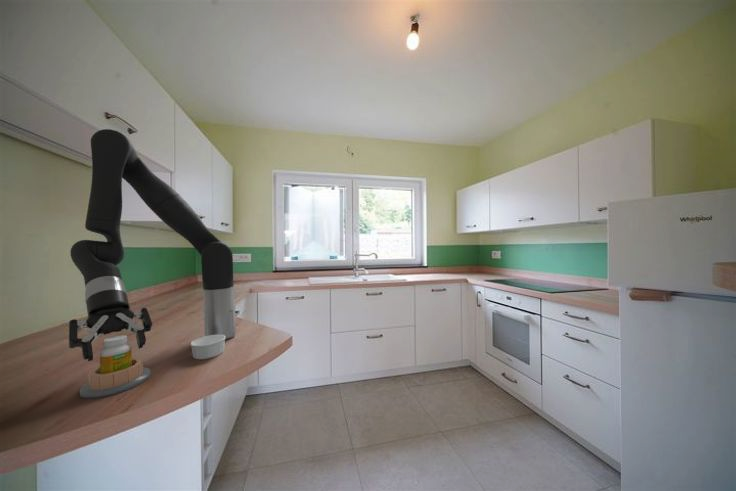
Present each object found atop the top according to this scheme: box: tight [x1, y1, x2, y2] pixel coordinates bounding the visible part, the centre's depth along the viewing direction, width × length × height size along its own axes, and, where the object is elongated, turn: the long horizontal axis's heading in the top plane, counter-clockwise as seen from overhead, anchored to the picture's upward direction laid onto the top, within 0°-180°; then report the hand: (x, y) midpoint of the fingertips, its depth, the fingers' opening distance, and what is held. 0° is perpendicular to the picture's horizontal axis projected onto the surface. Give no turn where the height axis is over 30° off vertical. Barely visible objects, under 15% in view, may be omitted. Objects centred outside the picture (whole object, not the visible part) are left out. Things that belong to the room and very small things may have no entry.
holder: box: [79, 357, 151, 399], centre depth 61 cm, size 12×12×4 cm
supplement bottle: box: [99, 334, 133, 374], centre depth 61 cm, size 5×5×10 cm
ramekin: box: [189, 335, 226, 360], centre depth 77 cm, size 9×9×4 cm
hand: (117, 352), depth 61 cm, fingers open, 8 cm apart
